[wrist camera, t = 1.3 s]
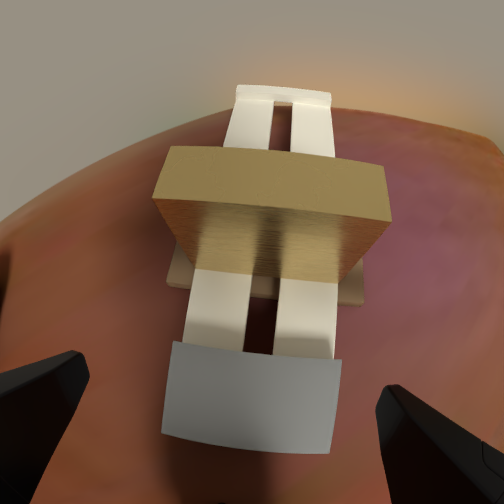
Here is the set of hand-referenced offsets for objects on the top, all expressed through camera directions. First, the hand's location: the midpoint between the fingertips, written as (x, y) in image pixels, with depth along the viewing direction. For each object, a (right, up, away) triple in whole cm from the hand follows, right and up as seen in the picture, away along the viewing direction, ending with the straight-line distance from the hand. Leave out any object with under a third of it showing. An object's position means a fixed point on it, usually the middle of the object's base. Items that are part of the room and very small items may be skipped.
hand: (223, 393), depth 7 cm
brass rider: (+2, +6, +14) cm, 15 cm away
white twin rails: (+2, +6, +15) cm, 16 cm away
